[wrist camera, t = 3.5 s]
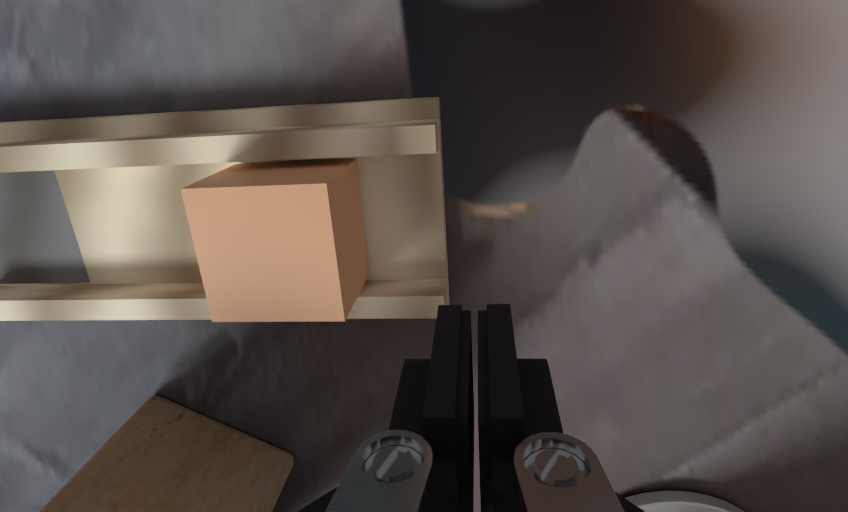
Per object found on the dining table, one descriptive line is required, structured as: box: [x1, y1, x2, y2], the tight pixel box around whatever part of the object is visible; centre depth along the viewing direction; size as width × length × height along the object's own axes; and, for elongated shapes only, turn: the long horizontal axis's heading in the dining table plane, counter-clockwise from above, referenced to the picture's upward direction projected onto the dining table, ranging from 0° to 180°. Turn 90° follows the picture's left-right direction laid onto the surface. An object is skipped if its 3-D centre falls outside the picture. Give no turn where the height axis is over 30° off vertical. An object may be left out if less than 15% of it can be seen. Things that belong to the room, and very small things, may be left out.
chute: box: [0, 97, 450, 321], centre depth 26 cm, size 26×11×3 cm, turn 94°
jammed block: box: [181, 159, 369, 322], centre depth 23 cm, size 6×6×5 cm
